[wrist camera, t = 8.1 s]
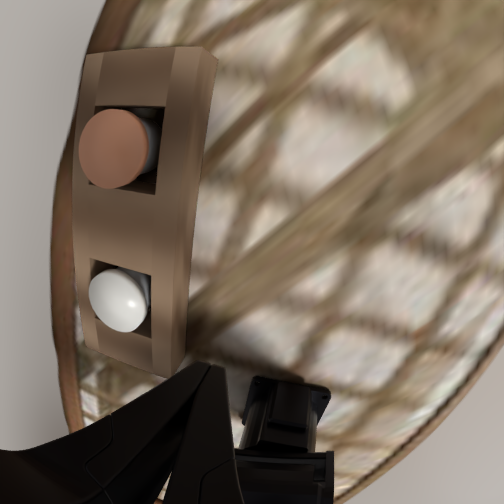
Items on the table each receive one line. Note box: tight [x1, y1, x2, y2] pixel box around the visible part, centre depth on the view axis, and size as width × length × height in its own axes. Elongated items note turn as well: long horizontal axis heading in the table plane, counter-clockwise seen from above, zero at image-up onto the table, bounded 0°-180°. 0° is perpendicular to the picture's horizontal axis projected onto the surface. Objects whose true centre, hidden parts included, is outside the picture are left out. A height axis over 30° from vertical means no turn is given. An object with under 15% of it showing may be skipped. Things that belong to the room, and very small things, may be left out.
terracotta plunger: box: [79, 109, 162, 189], centre depth 16 cm, size 4×4×4 cm
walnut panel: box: [72, 47, 218, 379], centre depth 19 cm, size 22×8×3 cm, turn 171°
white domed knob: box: [89, 267, 151, 332], centre depth 21 cm, size 4×4×4 cm
